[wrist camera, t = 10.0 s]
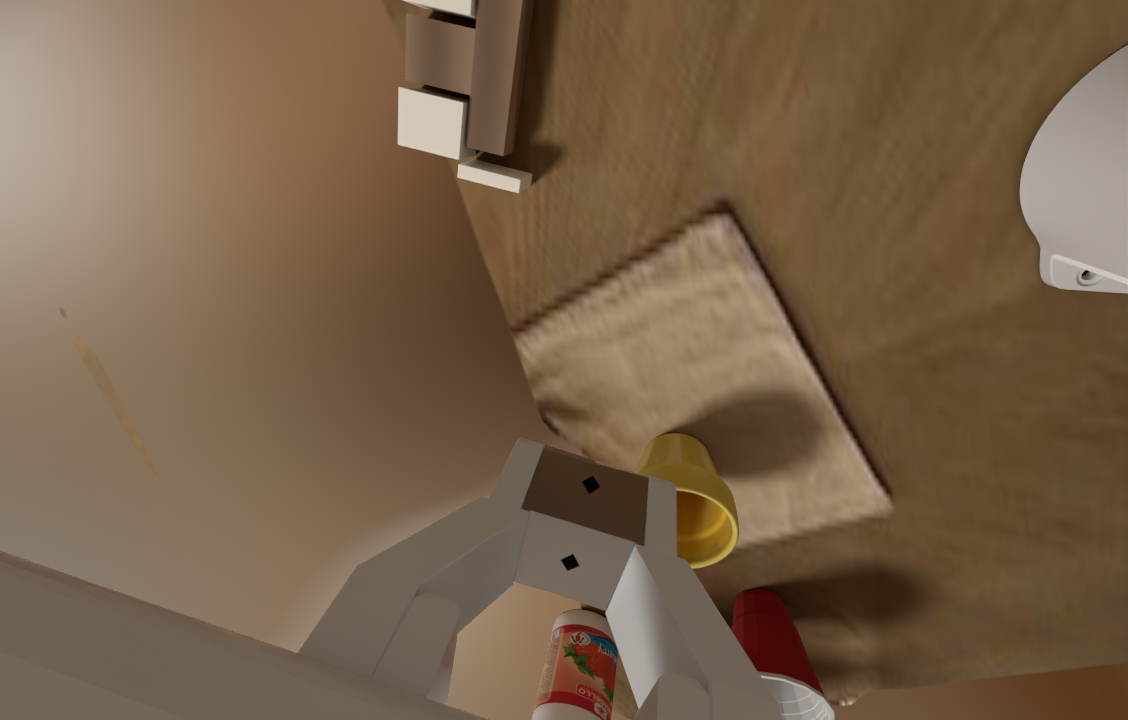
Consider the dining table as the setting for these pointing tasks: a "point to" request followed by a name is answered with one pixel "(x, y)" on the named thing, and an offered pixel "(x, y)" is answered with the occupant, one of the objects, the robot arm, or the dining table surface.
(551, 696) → the fruit juice
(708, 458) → the plant pot
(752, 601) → the plastic cup
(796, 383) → the dining table surface
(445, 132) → the cream T dock
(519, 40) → the walnut T block
